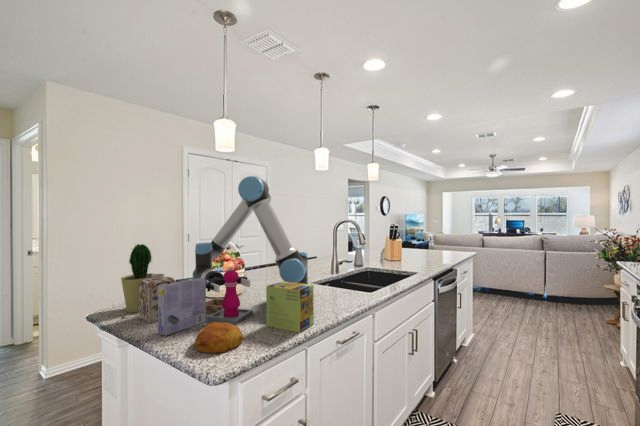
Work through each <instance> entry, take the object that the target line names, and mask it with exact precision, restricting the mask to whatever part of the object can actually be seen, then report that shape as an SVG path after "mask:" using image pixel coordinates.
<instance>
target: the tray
mask: <svg viewBox="0 0 640 426" xmlns="http://www.w3.org/2000/svg"><path fill="white" fill-rule="evenodd" d="M238 310H239V315H237V316H235V317H225V316H223V311H224V309H222V310H220V311H218V312H216V313H211V314H210V315H207V321H208V322H210V323H212V322H222V323H230V324H232V325H238V324H240V323H241V322H243V321H245V320H247V319H248V318H249V317H252V316H253V315H254V310H253V309H248V308H240V307H239V308H238Z"/></svg>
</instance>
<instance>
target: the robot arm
mask: <svg viewBox="0 0 640 426" xmlns="http://www.w3.org/2000/svg"><path fill="white" fill-rule="evenodd" d="M269 188H270V187H269V185H268V184H267V182H266V181H265V180H264V179H262V178H259V177H258V176H255V175H251V176H250V175H249V176H246V177H243V179H241V181H240V182H239V183H238V187H237V191H238V194H239V196H240V197H241V202H240V203H239V204H238V206H237V207H236V208H235V209H234V211H233V212H232V213H231V215H230V216H229V217H228V219H227V220H226V222H225V223H224V224H223V225H222V227H220V230H218V232H217V233H216V234H215V236H214V237H213V238H212V240H211V242H198V243H196V244H195V247H194V249H195V250H194V252H195V254H194V255H195V256H194V257H195V268H194V270H193V271H192V279H197V278H205V279H206V293H207V292H211V291H213V292H215V293H217V294H218V293H220V291H221V289H220V287H221V286H225V280H224V279H223V276H224V274H223V273H222V272H220V271H217V270H214V269H213V260H215V259H216V260H217V259H218V258H217V257H218V256H219V255H220V254H221V253H222V252H223V253H224V250H225V248H226V247H227V246H228V245H229V243H230V242H231V241H232V239H233V238H234V237H235V236H236V234H237V233H238V232H239V230H240V229H241V228H242V226H243V225H244V224H245V222H246V221H247V219H248V218H249V217H250V215H251V214H253V213H254V214H255V216H256V218H257V220H258V223H259V224H260V226H261V228H262V230H263V233H264V234H265V237H266V238H267V240H268V242H269V245H270V246H271V248H272V251H273V252H274V254H275V260H274V261H275V264H276V266H277V268H278V272H279V276H280V278H281V280H282V281H283V282H292V283H302V284H309V280H308V275H309V273H308V271H309V270H308V269H309V267H308V264H309V263H308V259H309V256H308V253H307V252H306V251H304V252H303V251H302V252H301V251H299V250H298V249H297V248H294V247H293V245H292V244H291V242H290V239H289V238H288V236H287V234H286V232H285V230H284V227H283V225H282V224H281V221H280V220H279V218H278V216H277V214H276V211H275V210H274V208H273V206H272V203H271V201H272V196H271V195H270V192H269V190H270V189H269ZM236 282H237V285H240V286H244V287H246V288H251V280H250V279H248V277H247V276H238V279H237V281H236Z"/></svg>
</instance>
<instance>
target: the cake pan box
mask: <svg viewBox="0 0 640 426" xmlns="http://www.w3.org/2000/svg"><path fill="white" fill-rule="evenodd" d="M206 293H207V289H206V279H205V278H197V279H193V278H192V279H187V280H181V281H175V283H170V284H165V285H159V286H158V321H157V326H158V327H157V331H158V334H159V335H161V336H162V335H163V336H164V337H167V336H170V335H173V334H175V333H178V332H181V331H184V330H188V329H191V328H193V327H196V326H198V325H201V324H205V323H207V312H206V302H207V295H206Z"/></svg>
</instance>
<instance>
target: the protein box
mask: <svg viewBox="0 0 640 426" xmlns="http://www.w3.org/2000/svg"><path fill="white" fill-rule="evenodd" d="M265 293H266V299H265V300H266V309H265V310H266V313H265V314H266V327H269V328H274V329H280V330H284V331H290V332H295V333H299V334H300V333H302V332H303V331H305V330H307V329H308V328H310V327H311V326H314V324H315V323H314V320H315V319H314V318H315V317H314V316H315V315H314V312H315V311H314V308H315V307H314V306H315V305H314V284H310V283H308V284H302V283H292V282H285V281H284V280H282V281H279V282H276V283H272V284H269V285H266V292H265Z"/></svg>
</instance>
